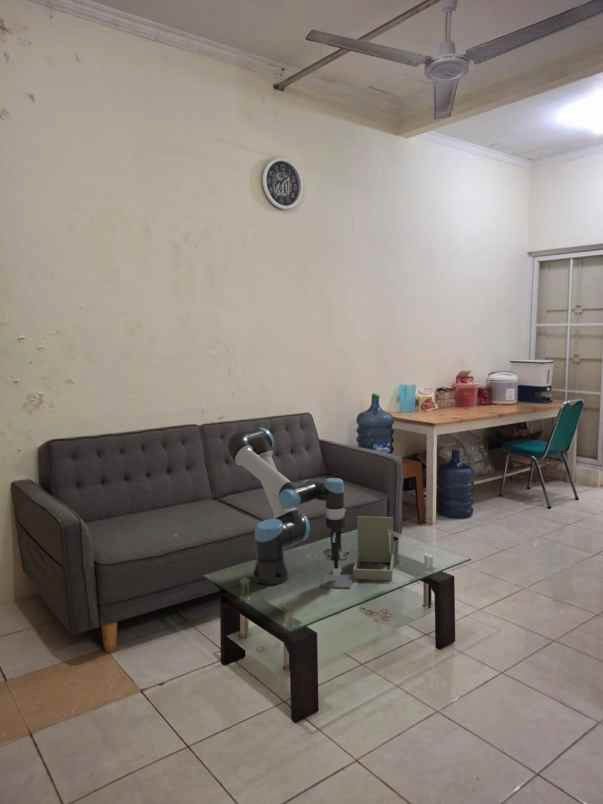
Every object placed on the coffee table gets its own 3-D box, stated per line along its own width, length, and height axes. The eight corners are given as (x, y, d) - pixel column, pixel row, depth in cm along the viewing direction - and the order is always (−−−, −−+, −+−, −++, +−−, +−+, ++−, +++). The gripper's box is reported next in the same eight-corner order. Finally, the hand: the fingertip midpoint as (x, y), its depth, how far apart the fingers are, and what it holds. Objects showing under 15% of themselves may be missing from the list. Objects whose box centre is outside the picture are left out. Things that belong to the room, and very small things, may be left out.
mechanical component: (349, 576, 236) (348, 552, 235) (323, 575, 238) (323, 551, 237) (350, 573, 239) (349, 549, 238) (325, 572, 241) (324, 548, 240)
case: (353, 578, 241) (352, 531, 239) (358, 560, 261) (357, 516, 259) (391, 580, 238) (391, 532, 236) (393, 561, 258) (393, 517, 256)
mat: (320, 587, 234) (320, 585, 234) (324, 575, 246) (324, 573, 246) (350, 588, 232) (350, 587, 231) (353, 576, 243) (353, 575, 243)
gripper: (342, 523, 227) (344, 582, 230) (347, 511, 243) (348, 566, 245) (322, 523, 229) (325, 581, 231) (329, 511, 244) (330, 565, 247)
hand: (337, 573), depth 238 cm, fingers closed on mechanical component, 3 cm apart
